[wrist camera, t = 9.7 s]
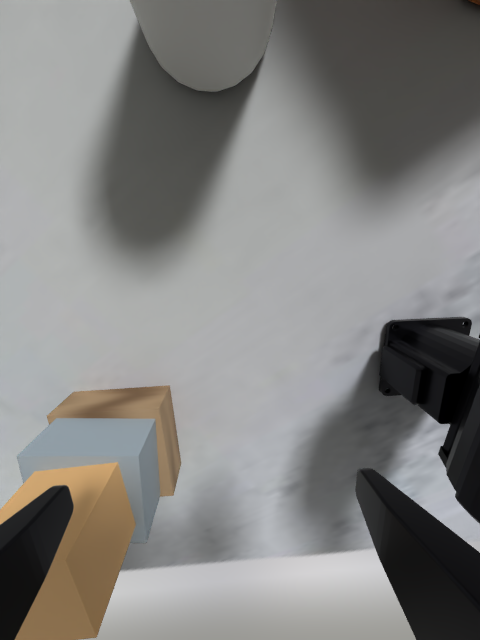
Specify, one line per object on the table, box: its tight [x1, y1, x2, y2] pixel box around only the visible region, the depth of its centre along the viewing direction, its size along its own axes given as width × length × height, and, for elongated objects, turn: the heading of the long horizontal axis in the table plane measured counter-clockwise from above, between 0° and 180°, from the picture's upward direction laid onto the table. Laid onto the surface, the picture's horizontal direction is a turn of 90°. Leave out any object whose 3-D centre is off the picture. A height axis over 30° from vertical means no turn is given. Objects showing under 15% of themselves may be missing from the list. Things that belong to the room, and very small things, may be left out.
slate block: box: [17, 418, 160, 543], centre depth 18 cm, size 7×7×4 cm
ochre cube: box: [0, 462, 136, 640], centre depth 13 cm, size 5×5×5 cm
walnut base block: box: [47, 386, 181, 496], centre depth 21 cm, size 8×8×4 cm
